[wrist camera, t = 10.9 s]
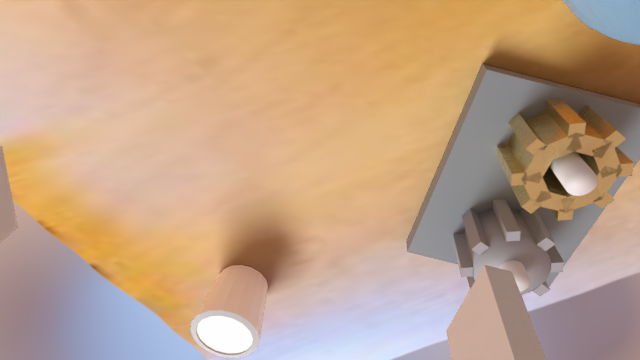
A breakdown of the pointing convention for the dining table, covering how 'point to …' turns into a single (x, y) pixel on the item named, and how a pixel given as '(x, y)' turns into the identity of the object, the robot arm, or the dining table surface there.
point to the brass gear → (556, 141)
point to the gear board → (497, 194)
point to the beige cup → (232, 313)
